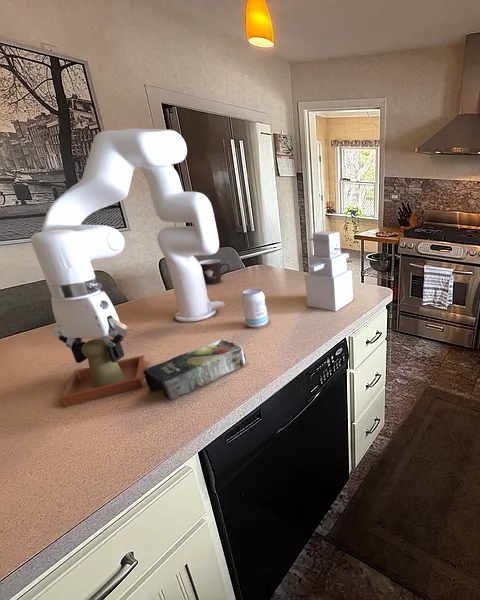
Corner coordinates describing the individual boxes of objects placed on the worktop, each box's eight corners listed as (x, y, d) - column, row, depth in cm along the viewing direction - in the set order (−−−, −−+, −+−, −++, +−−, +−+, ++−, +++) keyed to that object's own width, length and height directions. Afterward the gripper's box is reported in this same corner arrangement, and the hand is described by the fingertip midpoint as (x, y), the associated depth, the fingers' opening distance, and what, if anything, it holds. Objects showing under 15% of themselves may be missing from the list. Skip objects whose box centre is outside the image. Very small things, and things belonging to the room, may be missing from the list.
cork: (106, 390, 76) (90, 348, 72) (85, 386, 77) (69, 345, 73) (131, 375, 81) (118, 336, 77) (111, 372, 82) (97, 333, 78)
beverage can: (254, 319, 114) (249, 287, 110) (272, 321, 113) (267, 288, 109) (242, 327, 108) (235, 294, 104) (260, 330, 107) (255, 295, 102)
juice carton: (228, 353, 92) (224, 333, 90) (250, 363, 88) (246, 343, 85) (148, 390, 76) (140, 368, 74) (169, 405, 72) (162, 382, 69)
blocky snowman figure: (298, 311, 122) (290, 236, 112) (333, 292, 142) (328, 227, 132) (327, 316, 117) (321, 239, 107) (359, 296, 138) (356, 229, 128)
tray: (145, 362, 87) (143, 355, 87) (142, 386, 78) (139, 378, 77) (78, 378, 80) (74, 370, 80) (64, 407, 71) (60, 397, 70)
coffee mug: (198, 284, 150) (193, 263, 146) (211, 279, 158) (207, 259, 154) (221, 286, 148) (217, 264, 145) (233, 280, 156) (229, 260, 152)
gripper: (129, 283, 74) (150, 351, 81) (49, 283, 73) (76, 352, 80) (103, 294, 67) (128, 367, 74) (14, 294, 66) (47, 369, 73)
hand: (101, 359), depth 77 cm, fingers open, 7 cm apart
